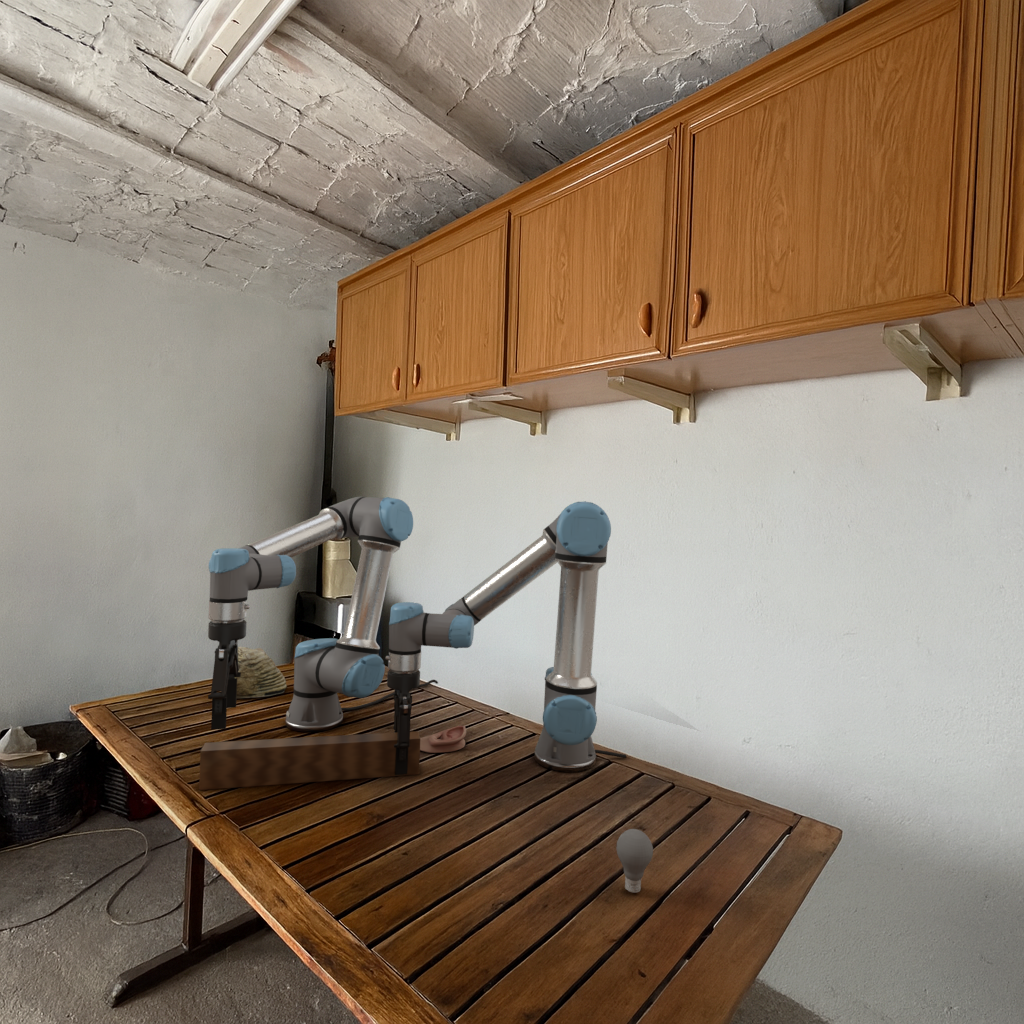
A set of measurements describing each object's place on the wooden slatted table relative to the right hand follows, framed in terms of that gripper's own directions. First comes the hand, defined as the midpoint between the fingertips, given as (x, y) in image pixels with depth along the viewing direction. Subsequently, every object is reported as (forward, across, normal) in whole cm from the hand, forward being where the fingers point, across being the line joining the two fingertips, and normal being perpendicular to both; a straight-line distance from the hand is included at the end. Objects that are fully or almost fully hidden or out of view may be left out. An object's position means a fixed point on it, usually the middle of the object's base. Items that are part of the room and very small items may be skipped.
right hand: (399, 768), depth 148 cm
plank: (+1, 0, -19) cm, 19 cm away
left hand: (-14, 0, -38) cm, 41 cm away
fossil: (+1, -63, -39) cm, 74 cm away
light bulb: (+1, +53, +34) cm, 63 cm away
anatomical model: (+1, -14, +11) cm, 18 cm away
